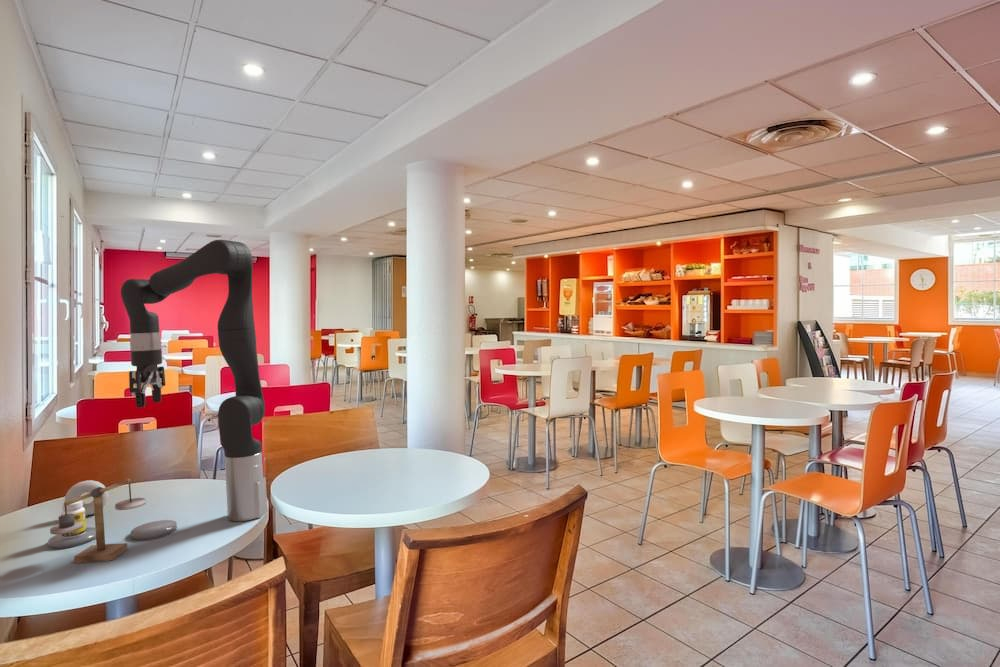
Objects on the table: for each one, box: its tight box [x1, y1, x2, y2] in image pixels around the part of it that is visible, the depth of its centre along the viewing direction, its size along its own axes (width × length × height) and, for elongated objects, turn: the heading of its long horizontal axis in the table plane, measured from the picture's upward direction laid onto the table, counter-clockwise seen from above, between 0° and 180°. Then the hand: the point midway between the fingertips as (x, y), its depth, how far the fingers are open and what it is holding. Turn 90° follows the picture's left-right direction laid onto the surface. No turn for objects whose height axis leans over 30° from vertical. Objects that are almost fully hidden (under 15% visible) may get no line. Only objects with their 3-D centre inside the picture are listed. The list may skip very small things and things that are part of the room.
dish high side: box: [130, 519, 178, 541], centre depth 140 cm, size 10×10×1 cm
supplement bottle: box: [60, 500, 87, 539], centre depth 136 cm, size 5×5×8 cm
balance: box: [49, 478, 147, 564], centre depth 126 cm, size 20×6×18 cm, turn 95°
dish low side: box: [47, 527, 96, 550], centre depth 136 cm, size 10×10×1 cm
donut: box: [63, 479, 109, 517], centre depth 153 cm, size 10×4×10 cm, turn 120°
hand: (149, 404), depth 158 cm, fingers open, 8 cm apart
